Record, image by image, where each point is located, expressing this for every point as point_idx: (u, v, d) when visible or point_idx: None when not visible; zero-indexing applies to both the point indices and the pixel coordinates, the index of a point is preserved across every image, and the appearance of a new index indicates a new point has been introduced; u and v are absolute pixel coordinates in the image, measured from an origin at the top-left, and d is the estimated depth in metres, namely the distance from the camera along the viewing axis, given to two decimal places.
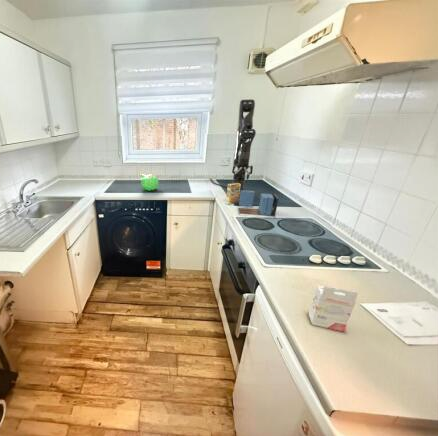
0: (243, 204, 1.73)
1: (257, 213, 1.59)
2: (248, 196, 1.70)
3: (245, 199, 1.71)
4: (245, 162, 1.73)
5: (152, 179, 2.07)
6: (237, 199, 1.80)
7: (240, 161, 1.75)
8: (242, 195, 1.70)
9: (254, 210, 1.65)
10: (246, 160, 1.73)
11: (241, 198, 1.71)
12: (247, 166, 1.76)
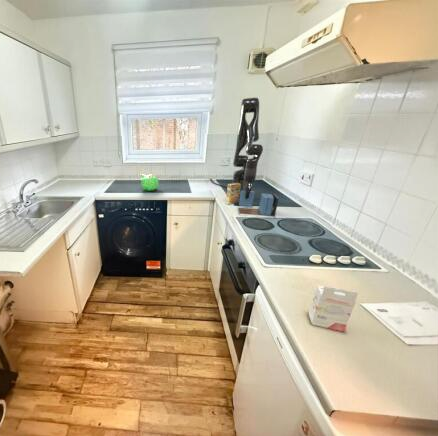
0: (243, 204, 1.73)
1: (257, 213, 1.59)
2: None
3: (245, 199, 1.71)
4: (244, 178, 1.66)
5: (152, 179, 2.07)
6: (237, 199, 1.80)
7: None
8: (242, 195, 1.70)
9: (254, 210, 1.65)
10: (245, 176, 1.65)
11: (241, 198, 1.71)
12: (247, 183, 1.65)
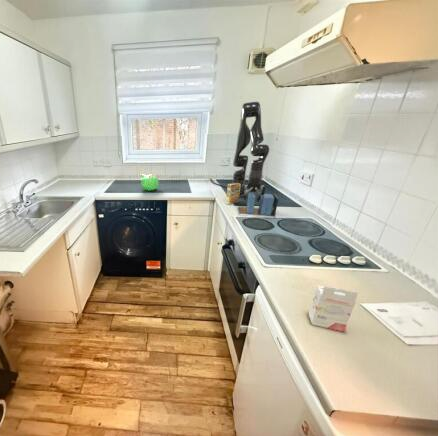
0: None
1: (257, 213, 1.59)
2: None
3: None
4: (257, 182, 1.51)
5: (152, 179, 2.07)
6: (237, 199, 1.80)
7: (251, 181, 1.53)
8: (254, 200, 1.56)
9: (254, 210, 1.65)
10: (258, 180, 1.51)
11: None
12: (259, 186, 1.54)
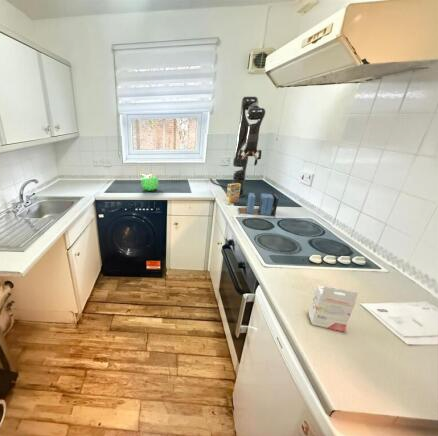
0: None
1: (257, 213, 1.59)
2: None
3: None
4: (253, 146, 1.57)
5: (152, 179, 2.07)
6: (237, 199, 1.80)
7: (247, 145, 1.58)
8: (254, 200, 1.56)
9: (254, 210, 1.65)
10: (254, 143, 1.56)
11: None
12: (255, 150, 1.60)
